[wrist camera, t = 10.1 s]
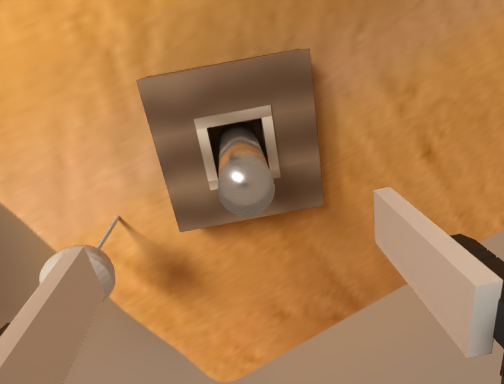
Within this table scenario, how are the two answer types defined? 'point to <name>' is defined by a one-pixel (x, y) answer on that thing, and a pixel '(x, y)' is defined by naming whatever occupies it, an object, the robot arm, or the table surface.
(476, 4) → the table surface
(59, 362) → the robot arm
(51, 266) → the lollipop
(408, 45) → the table surface
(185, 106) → the bore block
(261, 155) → the pin
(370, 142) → the table surface
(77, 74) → the table surface
